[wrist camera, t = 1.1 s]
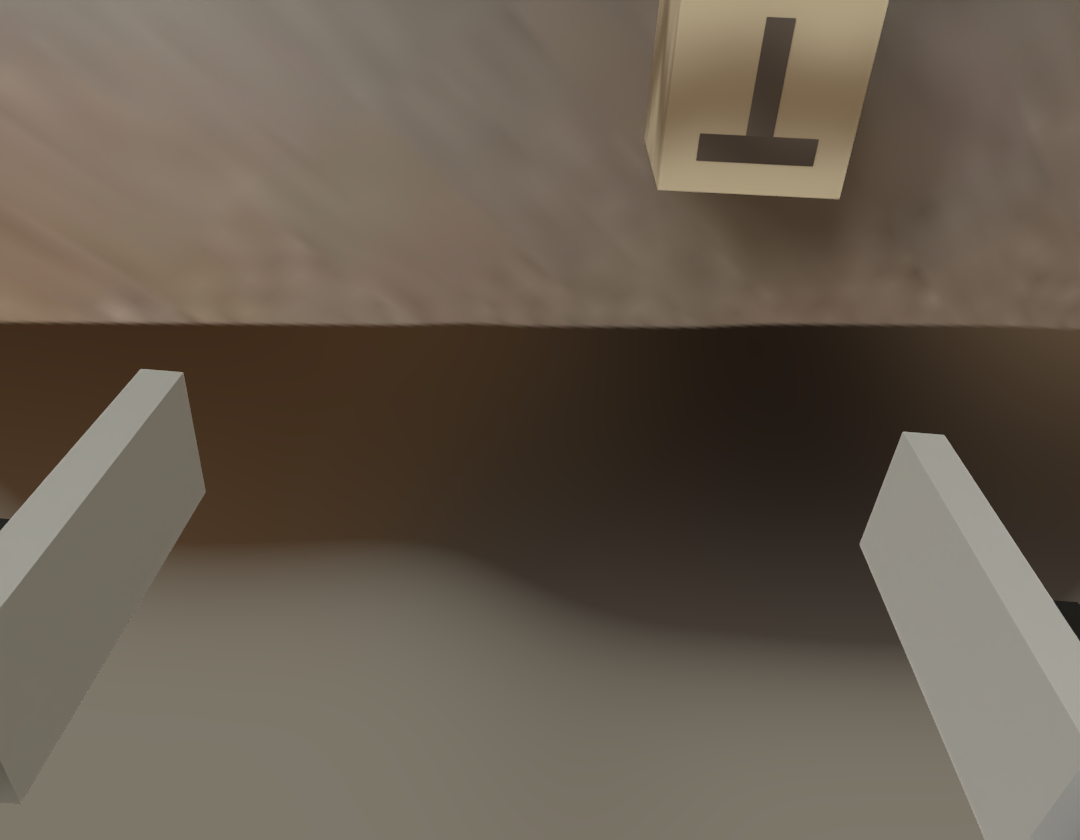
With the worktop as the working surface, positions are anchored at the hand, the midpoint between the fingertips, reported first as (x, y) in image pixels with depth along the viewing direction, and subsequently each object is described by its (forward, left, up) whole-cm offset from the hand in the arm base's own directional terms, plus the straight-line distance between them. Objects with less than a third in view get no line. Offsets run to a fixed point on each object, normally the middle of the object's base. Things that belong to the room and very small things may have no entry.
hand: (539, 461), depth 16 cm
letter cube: (-2, +7, -26) cm, 27 cm away
